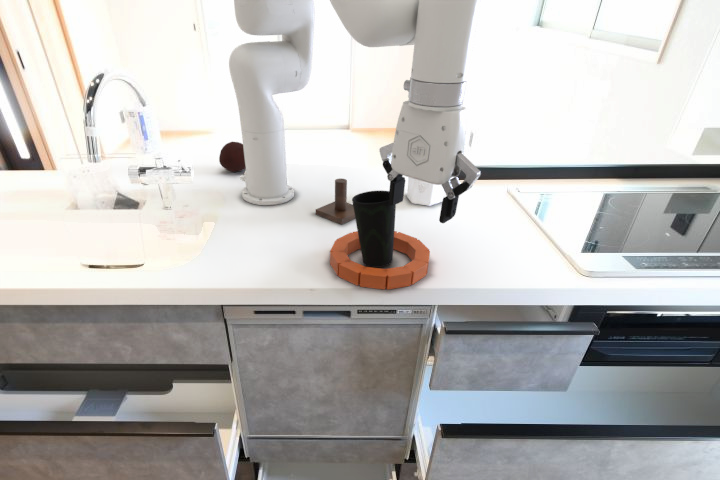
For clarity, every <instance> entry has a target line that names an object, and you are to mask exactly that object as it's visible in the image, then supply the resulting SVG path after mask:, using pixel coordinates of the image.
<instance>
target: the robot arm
mask: <svg viewBox="0 0 720 480" xmlns="http://www.w3.org/2000/svg"><path fill="white" fill-rule="evenodd" d="M329 1H330V4H331V6H332V8H333V10H334V11H335V13H336V15H337V17H338V19H339V20H340V22H341V24H342V26H343V27H344V29H345V30H346V31H347V33H348V34H349V35H350V36H351V38H352V39H353V40H355V42H357V43H358V44H360V45H361V46H364V47H367V48H384V47H398V46H399V47H403V46H413V53H412V54H413V55H412V62H411V73H410V78H409V79H405V81H404V82H403V90H404V91H407V92H408V95H407V98H408V100H405V101H403V102H402V105H401V108H400V112H399V114H398V118H397V122H396V127H395V133H394V138H393V142H391V143H389V144H386V145H383V146H381V147H380V148H379V149H378V150H379V151H378V152H379V155H380V158H381V161H382V167H383V169H384V171H385V172H386V174H387V175H386V178H387V180H388V181H389V190H388V191H389V197H390V198H389V205H391V206H394V205H396V206H397V205H398V204H400V203H402V202H403V201H404V196H405V187H406V178H405V177H408V178H409V177H411V178H414V179H417V180H421V181H424V182H428V183H431V184H436V185H441V184H442V187H443V189H444V194H445V195H446V196H445V197H443V201H442V202H441V206H440V213H439V217H438V221H439V223H441V224H445V223H447V222H449V221H450V220H452V219H454V217H455V215H456V213H457V207H458V203H459V197H460V196H461V195H462V194H464V193H465V192H467V191H468V190H470V189H472V187H473V185H474V184H475V183H476V182H477V181H478V179H479V178H480V177H481V175H482V173H481V170H480V169H479V168H478V167H477V166H476V165H475V164H473V162H471V161H470V160H469V159H468V158H467V157H466V156H465V154H464V153H465V145H466V134H467V133H466V132H467V112H466V111H467V108H466V107H465V106H463V103H464V98H465V92H466V86H467V80H468V74H469V69H470V63H471V57H472V52H473V46H474V39H475V34H476V29H477V24H478V23H477V22H478V18H479V11H480V7H481V6H480V5H481V0H329ZM233 6H234V15H235V16H234V17H235V20H236V22H237V25H238V27H239V29H240V30H241V31H242V32H244V33H245V34H248V35H250V36H281V40H279V41H277V40H276V41H254V42H253V41H252V42H246V43H243V44H240V45H238V46H236V47H235V48H234V49H233V50H232V52H231V53H230V55H229V61H228V68H229V74H230V79H231V82H232V85H233V88H234V89H233V90H234V93H235V96H236V97H235V98H236V102H237V108H238V113H239V120H240V121H239V122H240V130H241V139H242V144H243V149H244V158H245V167H246V168H245V171H244V173H243V174H241V175H240V176H239V179H240V181H242V182H245V187H244V188H243V189H242V191H241V197H242V199H243V200H244V201H245V202H247V203H250V204H253V205H258V206H274V205H280V204H284V203H287V202H289V201H291V200H292V199H293V198H294V197H295V189H294V188H293V187H292V186H290V185H288V172H287V154H286V137H285V121H284V115H283V113H282V110H281V109H280V107H279V106H278V104H277V102H276V101H275V100H274V98H273V96H274V95H278V94H283V93H284V94H285V93H292V92H299V91H301V90H303V89H304V88H306V87H307V85H308V83H309V82H310V79H311V74H312V65H313V47H314V33H315V32H314V31H315V3H314V0H233ZM461 171H462V172H463V173H464V174H465V178H464V179H463V181H462V182H460V180H459V175H460V173H461Z"/></svg>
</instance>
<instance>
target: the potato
mask: <svg viewBox="0 0 720 480" xmlns="http://www.w3.org/2000/svg"><path fill="white" fill-rule="evenodd" d="M218 159H219V164H220V165H221V167H222V168H223V169H224V170H226V171H229V172H233V173H238V172H242V171H244V170H246V167H245V158H244V149H243V142H238V141H230V142H227V143H225V144H224V145H223V146H222V148H221V150H220V153H219V157H218Z"/></svg>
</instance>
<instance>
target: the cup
mask: <svg viewBox="0 0 720 480" xmlns="http://www.w3.org/2000/svg"><path fill="white" fill-rule="evenodd" d="M389 198H390V197H389V190H370V191H364V192H361V193H360V192H359V193H357V194H356V195H354V196H353V197H352V198H351V201H352V204H353V208H354V213H355V219H354V220H355V223H356V230H357V231H358V236H359V241H360V247H361V249H360V252H361V258H362V263H363V265H365V266H366V267H372V268H382V267H385V266H388V265H390V264H392V262H393V260H394V249H393V245H394V231H395V224H396V208H397V204H396V205H394V206H391V205H389Z"/></svg>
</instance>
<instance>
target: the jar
mask: <svg viewBox="0 0 720 480" xmlns="http://www.w3.org/2000/svg"><path fill="white" fill-rule="evenodd" d="M444 196H445V191H444V189H443V187H442V184H441V185H436V184H431V183H428V182H424V181H421V180H417V179H414V178H411V177H408V181H407V188H406V197H407V199H408V200H409V201H410V203H411V204H414V205H420V206H427V207H431V206H434V205H437V204H440V203H442V201H443V198H444Z"/></svg>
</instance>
